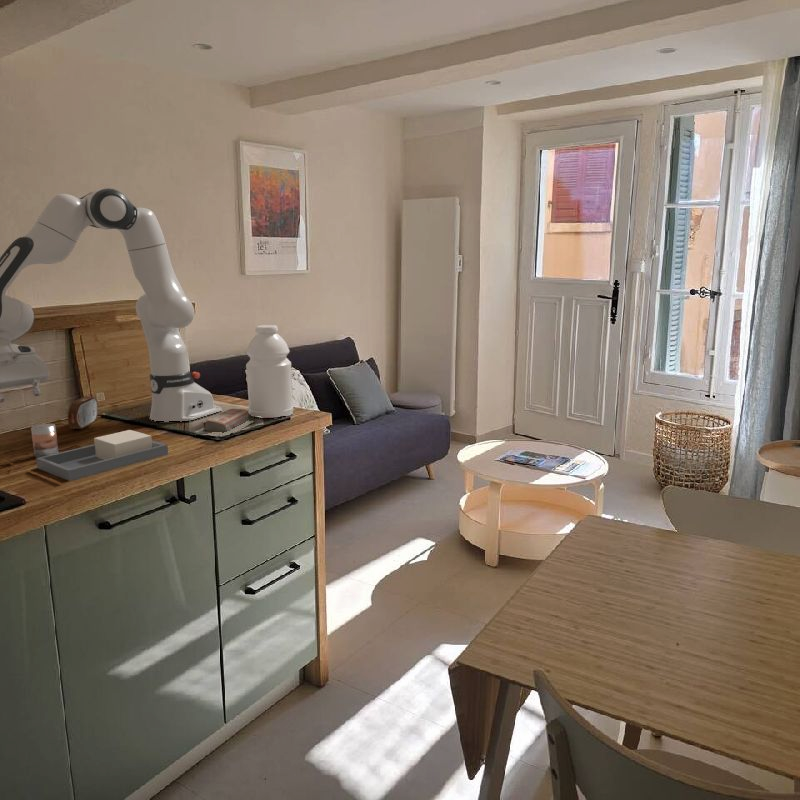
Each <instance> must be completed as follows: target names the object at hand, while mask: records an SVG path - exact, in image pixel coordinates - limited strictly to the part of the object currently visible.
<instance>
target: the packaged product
mask: <svg viewBox="0 0 800 800" xmlns="http://www.w3.org/2000/svg"><path fill="white" fill-rule="evenodd" d="M249 417H250V414H249V410H246V409H244V408H230V409H227V410H225V411H222V412H219V413H217V414H216V415H214V416H212V417H209V418H208V419H205V420H204V421H203V423H202V425H203V427H202V428H200V429H197V430H196V431H194V433H196V434H208V433H212V432H222V433H224V432H227V431H230V430H231V429H233V428H235V427H237V426H239V425H241V424H243V423H245V422H246V421H248V420H249ZM196 434H195V435H196Z"/></svg>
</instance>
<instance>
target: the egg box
mask: <svg viewBox="0 0 800 800" xmlns="http://www.w3.org/2000/svg"><path fill="white" fill-rule="evenodd" d="M93 441H94V444H95V451H96V457H98V458H101V459H104V460H106V459H110V458H114V457H118V456H122V455H125V454H129V453H133V452H137V451H141V450H145V449H149V448H152V441H153V439H152V435H149V434H146V433H143V432H139V431H136V430H132V429H127V430H122V431H120V432H114V433H110V434H106V435H102V436H97V437H93Z"/></svg>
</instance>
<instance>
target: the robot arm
mask: <svg viewBox="0 0 800 800" xmlns="http://www.w3.org/2000/svg"><path fill="white" fill-rule="evenodd" d="M87 227H93V228H96V229H103V230H118V231H119V232H120V234H121V235H122V237H123V239H124V242H125V246H126V250H127V254H128V258H129V260H130V263H131V264H130V265H131V267H132V271H133V275H134V277H135V278H136V280H137V282H138V283H139V284H140V286H141V288H142V290H143V291H144V294H142V295H140V297H138V299H137V300H136V303H135V312H136V315H137V316H138V318H139V321H140V323H141V324H140V325H141V327H142V330H143V334H144V337H145V340H146V344H147V349H148V356H149V366H150V374H149V384H150V390H151V409H150V415H149V420H150V419H151V420H150V421H152V420H154V421H153V422H156V421H164V422H163V423H170V422H169V421H180V422H182V421H188V420H193V419H197V418H200V417H203V416H206V417H208V416H207V415H209V414H213V413H216V412H219V411H222V412H223V409H222V407H221V406H219V405H216V404H215V400H214V396H213V395H212V393H211V392H210V391H209V390H207V389H205V388H204V387H202V386H201V385H199V384H198V383H196V382H195V380H194V379H196V380H197V379H200V377H201V374H200V372H197V371H193V372H192V371H189V364H188V354H187V346H186V344H185V341H184V340H183V338H182V335H181V332H180V329H184V328H186V327H188V326H189V325H190V324H192V321H193V319H194V317H195V308H194V305H193V303H192V302H191V301H190V299H189V298H188V297H187V296H186V293H185V291H184V289H183V287H182V286H181V283H180V281H179V279H178V277H177V275H176V273H175V270H174V268H173V265H172V261H171V257H170V254H169V250H168V246H167V243H166V239H165V237H164V232H163V231H162V227H161V225H160V222H159V221H158V218H157V216H156V214H155V213H154V211H152V210H151V209H149V208H146V207H136V206H135V205H134V204H133V203H132V202H131V201H130V199H129V198H128V197H127V196H126V195H124V194H123V193H122V192H121V191H119V190H117V189H114V188H109V187H108V188H105V187H104V188H98V189H95V190H92V191H90V192H89V193H87V194H86V195H83V196H82V197H80V198H78V197H76V196H75V195H72V194H69V193H59V194H58V193H57V194H56V195H55V196H53V197H52V198H51V200H50V201H49V202H48V203H47V205H46V206H45V208H44V209H43V210H42V212H41V213H40V215H38V218H37V220H36V222H35V223H34V225H33V227H32V228H31V229H30V230H29V231H28V232H27V233H26V234H25V235H23V236H22V237H21V236H20V237H17V238H16V239H15V240H13V242H11V244H10V245H9V246H8V247H7V248H6V250H4V252H3V253H2V255H0V390H6V389H13V388H20V387H25V386H30V385H31V386H32V387H33V388H32V391H31V394H32V396H33V397H40V396H41V394H42V391H41V389H40V384H44V383H46V382H48V380H49V378H50V375H51V372H50V370H49V367H48V365H46V363H45V361H44V360H43V359H42V357H41V356H39V355H38V354H36V349H35V348H34V346H31V345H22V344H17V343H12V341H15V340H18V339H19V338H20V337H22V336H24V335H25V334H27V333H28V332H29V331H30V330H31V329H32V328H33V326H34V324H35V319H36V318H35V312H34V309H33V307H32V306H31V305H29V304H28V303H26V302H24V301H22V300H20V299H17V298H15V297H11V296H8V295H7V294H6V293H7V291H8V290H9V288H10V287H11V286H12V284H13V283H14V281H15V280H16V279H17V277H18V276H19V275H20V273H21V272H22V270H24V269H25V268H27V267H28V266H31V265H39V264H41V265H44V264H45V265H52V264H57V263H61V262H63V261H65V260H66V259H68V257H69V256H70V255H71V253H72V251H73V250H74V248H75V245H76V244H77V243H78V240H79V238H80V236H81V234H82V233H83V232H84V230H85V229H86V228H87ZM4 402H5V397H4V394H3V393H0V403H4ZM219 413H220V412H219ZM216 414H217V413H216ZM213 415H214V414H213ZM203 418H204V417H203ZM200 419H201V418H200ZM197 420H198V419H197Z"/></svg>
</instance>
